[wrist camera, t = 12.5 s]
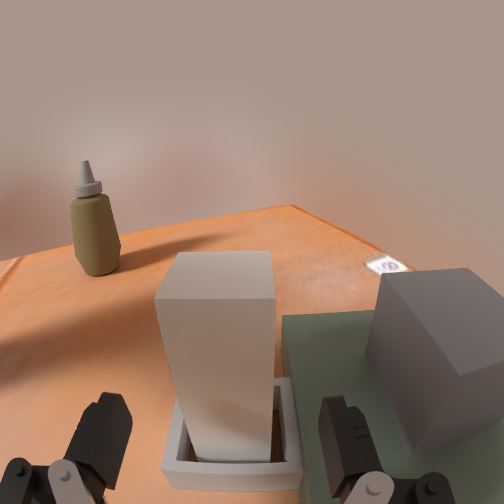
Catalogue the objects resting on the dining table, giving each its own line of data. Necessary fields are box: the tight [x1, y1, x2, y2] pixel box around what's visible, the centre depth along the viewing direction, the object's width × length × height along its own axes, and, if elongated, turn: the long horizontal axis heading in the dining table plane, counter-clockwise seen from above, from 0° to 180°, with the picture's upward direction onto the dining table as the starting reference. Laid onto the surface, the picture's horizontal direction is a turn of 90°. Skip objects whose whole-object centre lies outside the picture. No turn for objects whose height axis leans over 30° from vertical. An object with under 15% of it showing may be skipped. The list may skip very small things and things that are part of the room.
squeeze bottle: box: [71, 161, 121, 276], centre depth 43 cm, size 8×8×18 cm
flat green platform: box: [161, 268, 504, 504], centre depth 16 cm, size 24×22×11 cm
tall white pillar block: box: [153, 250, 276, 464], centre depth 16 cm, size 5×5×14 cm
